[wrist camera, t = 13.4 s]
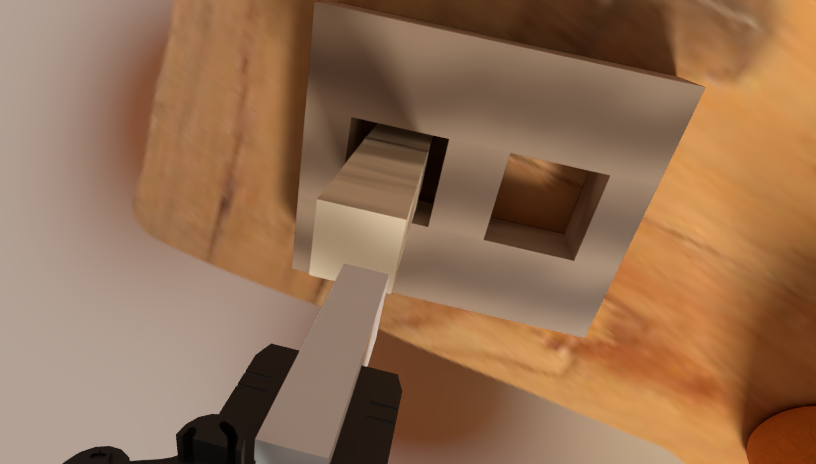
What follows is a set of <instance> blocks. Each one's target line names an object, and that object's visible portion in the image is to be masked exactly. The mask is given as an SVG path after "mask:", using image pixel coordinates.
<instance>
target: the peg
mask: <svg viewBox="0 0 816 464" xmlns="http://www.w3.org/2000/svg"><path fill="white" fill-rule="evenodd" d="M432 138H433V135H429V134H425V133H420V132H416V131H411V130H407V129H402V128H398V127H394V126H389V125H385V124H380V123H377V124H376V126H375V127H374V128H373V129H372V131H371V132H370V133H369V134H368V136H365V138H364V141H363V142H362V143H361V144H360V146H359V147H358V148H357V149H356V151H355V152H354V153H353V154H352V156H351V157H350V158H349V160H348V161H347V162H346V163H345V165H344V166H343V167H342V168H341V170H340V171H339V172H338V173H337V175H336V176H335V177H334V178H333V180H332V181H331V182H330V183H329V185H328V186H327V187H326V188H325V190H324V191H323V192H322V194H321V195H320V196H319V197H318V199H317V204H316V213H315V223H314V232H313V242H312V251H311V261H310V270H309V275H312V276H316V277H320V278H325V279H329V280H333V281H335V280H336V278H337V276H338V274H339V272H340V270H341V268H342V266H343V264H348V265H352V266H356V267H361V268H365V269H369V270H373V271H377V272H381V273H385V274H389V278H388V283H387V288H386V293H388V294H391V292H392V289H393V285H394V282H395V278H396V275H397V271H398V268H399V264H400V261H401V257H402V254H403V250H404V247H405V243H406V240H407V236H408V233H409V230H410V226H411V223H412V219H413V216H414V212H415V211H416V208H417V203H418V199H419V195H420V191H421V188H422V183H423V179H424V174H425V170H426V165H427V161H428V156H429V152H430V147H431V143H432Z"/></svg>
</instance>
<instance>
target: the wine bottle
mask: <svg viewBox="0 0 816 464" xmlns="http://www.w3.org/2000/svg"><path fill="white" fill-rule="evenodd" d="M746 453H747V458H748V462H749V464H816V406H807V407H800V408H795V409H791V410H787V411H784V412H781V413H779V414H776V415H774V416H772V417H770V418H769V419H767V420H766V421H764V422H763V423H762V424H760V425H759V426H758V427H757V428H756V429H755V430H754V431H753V433H752V434H751V436H750V438H749V440H748V444H747V448H746Z"/></svg>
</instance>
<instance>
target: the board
mask: <svg viewBox="0 0 816 464" xmlns="http://www.w3.org/2000/svg"><path fill="white" fill-rule="evenodd" d="M705 88H706V87H703V86H701V85H698V84H696V83H693V82H690V81H688V80H685V79H682V78H680V77H677V76H673V75H668V74H664V73H659V72H654V71H650V70H645V69H641V68H636V67H632V66H627V65H622V64H618V63H613V62H609V61H604V60H599V59H595V58H590V57H586V56H581V55H577V54H572V53H567V52H563V51H558V50H554V49H549V48H544V47H540V46H535V45H531V44H526V43H522V42H517V41H512V40H508V39H503V38H499V37H494V36H490V35H485V34H480V33H476V32H471V31H467V30H462V29H457V28H453V27H448V26H444V25H439V24H435V23H430V22H425V21H421V20H416V19H412V18H407V17H402V16H398V15H393V14H389V13H384V12H380V11H375V10H370V9H366V8H361V7H357V6H352V5H348V4H343V3H338V2H314V13H313V25H312V37H311V49H310V61H309V73H308V85H307V97H306V108H305V120H304V132H303V144H302V156H301V168H300V180H299V192H298V204H297V216H296V228H295V239H294V251H293V263H292V269H295V270H300V271H304V272H308V273H309V270H310V261H311V251H312V242H313V232H314V223H315V213H316V204H317V199H318V197H319V196H320V195H321V194H322V192H323V191H324V190H325V188H326V187H327V186H328V185H329V183H330V182H331V181H332V180H333V178H334V177H335V176H336V175H337V173H338V172H339V171H340V170H341V168H342V167H343V166H344V165H345V163H346V162H347V161H348V160H349V158H350V157H351V156H352V154H353V153H354V152H355V151H356V149H357V148H358V147H359V142H360V135H361V128H362V121H363V120H367V121H371V122H376V123H380V124H385V125H389V126H394V127H398V128H402V129H407V130H411V131H416V132H420V133H425V134H429V135H433V136H438V137H442V138H447V139H449V140H448V144H447V148H446V152H445V156H444V161H443V165H442V169H441V173H440V178H439V182H438V186H437V190H436V194H435V199H434V203H433V204H432V203H427V202H423V201H419V200H418V203H417V208H416V211H415V212H414V216H413V219H412V223H411V226H410V230H409V233H408V236H407V240H406V243H405V247H404V250H403V254H402V257H401V261H400V264H399V268H398V271H397V275H396V278H395V282H394V285H393V289H392V293H397V294H401V295H405V296H409V297H414V298H418V299H422V300H426V301H430V302H435V303H439V304H443V305H447V306H452V307H456V308H460V309H464V310H469V311H473V312H477V313H481V314H485V315H490V316H494V317H498V318H502V319H507V320H511V321H515V322H519V323H523V324H528V325H532V326H536V327H540V328H545V329H549V330H553V331H557V332H561V333H566V334H570V335H574V336H578V337H583V338H585V336H586V334H587V332H588V330H589V328H590V326H591V324H592V322H593V320H594V317H595V315H596V313H597V311H598V309H599V307H600V305H601V303H602V301H603V299H604V297H605V295H606V293H607V291H608V288H609V286H610V284H611V282H612V280H613V278H614V276H615V274H616V272H617V270H618V268H619V266H620V264H621V262H622V259H623V257H624V255H625V253H626V251H627V249H628V247H629V245H630V243H631V241H632V239H633V237H634V235H635V233H636V230H637V228H638V226H639V224H640V222H641V220H642V218H643V216H644V214H645V212H646V210H647V208H648V206H649V204H650V201H651V199H652V197H653V195H654V193H655V191H656V189H657V187H658V185H659V183H660V181H661V179H662V177H663V175H664V172H665V170H666V168H667V166H668V164H669V162H670V160H671V158H672V156H673V154H674V152H675V150H676V148H677V146H678V143H679V141H680V139H681V137H682V135H683V133H684V131H685V129H686V127H687V125H688V123H689V121H690V119H691V117H692V114H693V112H694V110H695V108H696V106H697V104H698V102H699V100H700V98H701V96H702V94H703V92H704V90H705ZM510 153H513V154H518V155H522V156H526V157H531V158H535V159H540V160H544V161H549V162H553V163H557V164H562V165H566V166H571V167H575V168H580V169H584V170H588V171H589V173H588V175H587V178H586V180H585V183H584V185H583V188H582V190H581V193H580V195H579V198H578V200H577V203H576V205H575V208H574V210H573V213H572V215H571V218H570V220H569V223H568V225H567V228H566V230H565V233H564V234H562V233H558V232H553V231H549V230H545V229H540V228H536V227H531V226H527V225H523V224H518V223H514V222H510V221H505V220H501V219H497V218H492V217H491V214H492V210H493V207H494V204H495V201H496V197H497V194H498V191H499V188H500V184H501V181H502V178H503V175H504V171H505V168H506V165H507V162H508V158H509V155H510Z"/></svg>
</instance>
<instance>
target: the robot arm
mask: <svg viewBox="0 0 816 464" xmlns="http://www.w3.org/2000/svg"><path fill="white" fill-rule="evenodd" d="M388 278H389V274H385V273H381V272H377V271H373V270H369V269H365V268H361V267H356V266H352V265H348V264H343V266H342V268H341V270H340V272H339V274H338V276H337V278H336V280H335V282H334V284H333V286H332V288H331V290H330V292H329V294H328V296H327V298H326V300H325V302H324V304H323V306H322V308H321V310H320V312H319V314H318V316H317V318H316V320H315V322H314V324H313V326H312V328H311V330H310V332H309V334H308V336H307V338H306V340H305V342H304V343H303V346H302V348H301V349H300V351H298V350H294V349H291V348H287V347H283V346H279V345H274V344H270V345H269V346H267V347H266V348H264V349H263V350H262V351H260V352H259V353H258V354H256V355H255V357H254V358H253V360H252V362H251V363H250V365H249V366H248V368H247V370H246V372H245V374H243V376H242V378H241V379H240V381H239V383H238V386H236V387H235V389H234V391H233V392H232V394H231V395H230V397H229V399H228V400H227V402H226V403H225V405H224V407H223V408H222V410H221V412H220V413H219V414H210V415H206V416H201V417H198V418H196V419H194V420H193V421H191V422H189V423H187V424H186V425H185V426H184V427H183V428H182V429H181V430H180V431H179V432H178V433H177V434H176V440H177V450H178V455H177V456H174V457H171V458H165V459H156V460H140V461H130V460H129V457H128V456H127V455H126V454H125V453H124V452H123V451H122V450H121V449H118V448H114V447H111V446H104V447H94V448H91V449H88V450H85V451H82V452H80V453H78V454H76V455H75V456H73V457H72V458H70V459H68V460H67V461H65V462H64V463H63V464H387V463H388V458H389V454H390V448H391V443H392V439H393V433H394V429H395V424H396V419H397V414H398V409H399V404H400V399H401V394H402V389H401V385H400V382H399V378H398V374H394V373H390V372H385V371H382V370H377V369H374V368H370V367H367V365H368V362H369V359H370V356H371V352H372V349H373V346H374V343H375V339H376V336H377V331H378V326H379V321H380V317H381V312H382V307H383V302H384V297H385V293H386V288H387V283H388Z"/></svg>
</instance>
